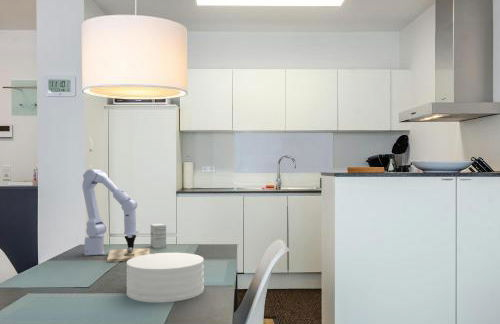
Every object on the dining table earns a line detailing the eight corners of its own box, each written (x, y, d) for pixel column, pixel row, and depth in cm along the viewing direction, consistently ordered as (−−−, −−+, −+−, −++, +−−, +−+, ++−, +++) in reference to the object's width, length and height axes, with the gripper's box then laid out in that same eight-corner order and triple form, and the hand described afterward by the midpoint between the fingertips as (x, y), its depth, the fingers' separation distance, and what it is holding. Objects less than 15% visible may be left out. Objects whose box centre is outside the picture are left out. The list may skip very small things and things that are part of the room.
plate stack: (169, 277, 187) (169, 249, 187) (219, 289, 169) (219, 258, 169) (111, 292, 165) (110, 261, 165) (160, 308, 147) (160, 273, 147)
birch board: (106, 262, 215) (106, 259, 215) (110, 252, 238) (110, 249, 238) (149, 260, 220) (149, 257, 220) (149, 250, 243) (149, 248, 243)
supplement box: (150, 246, 257) (150, 224, 257) (163, 245, 260) (163, 223, 260) (153, 248, 250) (153, 225, 250) (166, 247, 253) (166, 224, 253)
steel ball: (126, 247, 231) (127, 253, 231) (126, 248, 229) (127, 253, 229) (132, 245, 232) (133, 251, 232) (132, 246, 230) (133, 252, 230)
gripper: (137, 224, 226) (138, 251, 226) (138, 221, 240) (139, 246, 240) (123, 225, 224) (124, 252, 224) (124, 221, 238) (125, 247, 238)
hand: (130, 249), depth 232 cm, fingers closed, pressing on steel ball
